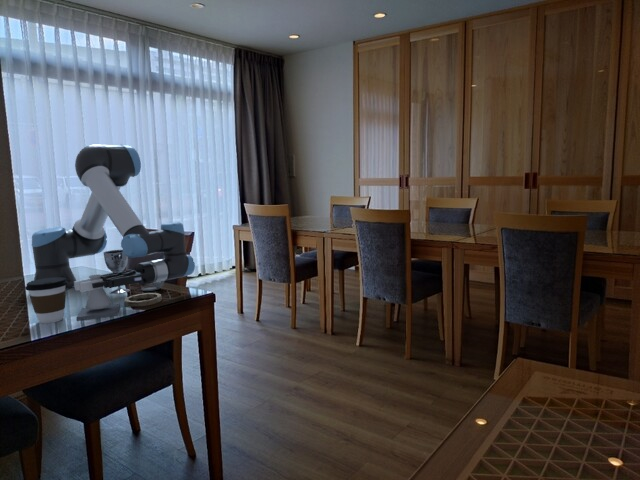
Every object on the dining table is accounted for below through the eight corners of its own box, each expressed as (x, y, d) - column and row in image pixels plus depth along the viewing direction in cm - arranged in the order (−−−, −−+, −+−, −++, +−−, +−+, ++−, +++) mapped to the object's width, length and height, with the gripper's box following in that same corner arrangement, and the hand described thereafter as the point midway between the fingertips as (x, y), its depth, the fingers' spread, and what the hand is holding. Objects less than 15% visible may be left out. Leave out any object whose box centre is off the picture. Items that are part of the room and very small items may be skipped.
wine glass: (128, 293, 171) (124, 252, 169) (105, 295, 170) (100, 253, 168) (133, 288, 179) (129, 249, 177) (111, 289, 177) (106, 250, 175)
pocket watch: (142, 288, 177) (139, 262, 175) (165, 286, 179) (163, 260, 178) (141, 293, 169) (138, 266, 168) (165, 291, 172) (163, 264, 170)
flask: (101, 310, 141) (97, 278, 140) (80, 310, 143) (76, 278, 141) (116, 304, 148) (113, 272, 147) (96, 303, 150) (92, 273, 148)
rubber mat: (82, 310, 149) (82, 307, 149) (120, 306, 153) (119, 303, 153) (76, 320, 139) (76, 317, 139) (117, 315, 142) (116, 312, 142)
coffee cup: (74, 320, 139) (69, 280, 138) (31, 328, 133) (26, 287, 131) (69, 312, 148) (64, 275, 146) (28, 320, 142) (23, 281, 140)
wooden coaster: (126, 299, 161) (125, 295, 161) (161, 295, 164) (161, 291, 164) (123, 308, 150) (123, 303, 150) (161, 303, 154) (161, 299, 153)
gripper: (164, 286, 153) (90, 303, 136) (139, 280, 164) (68, 295, 146) (162, 263, 152) (87, 277, 135) (137, 259, 163) (65, 271, 145)
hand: (77, 286), depth 141 cm, fingers closed on flask, 3 cm apart
